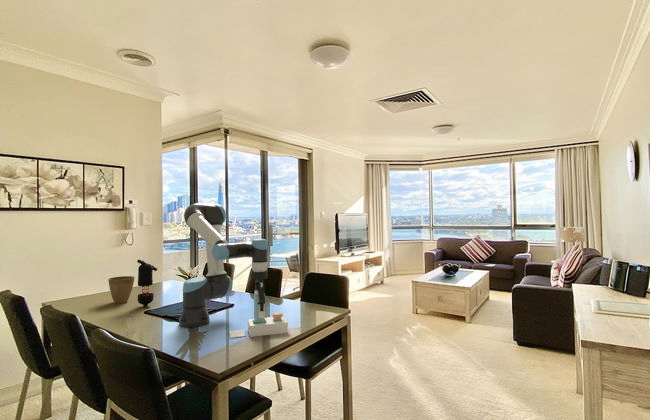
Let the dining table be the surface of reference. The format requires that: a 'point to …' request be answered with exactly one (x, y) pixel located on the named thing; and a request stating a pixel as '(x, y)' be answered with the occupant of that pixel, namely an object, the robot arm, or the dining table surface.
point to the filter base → (267, 327)
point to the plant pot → (121, 288)
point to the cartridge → (257, 310)
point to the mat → (237, 333)
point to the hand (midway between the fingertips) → (259, 313)
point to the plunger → (277, 316)
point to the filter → (145, 282)
